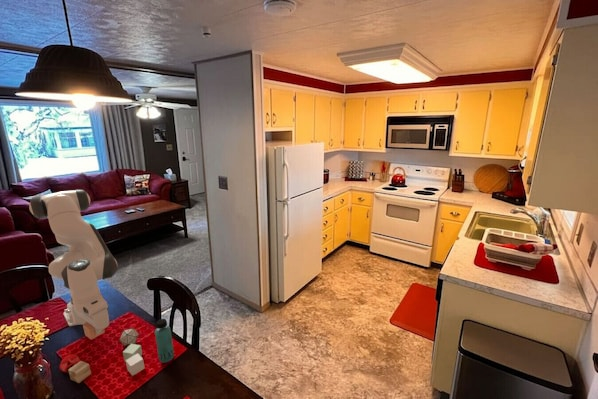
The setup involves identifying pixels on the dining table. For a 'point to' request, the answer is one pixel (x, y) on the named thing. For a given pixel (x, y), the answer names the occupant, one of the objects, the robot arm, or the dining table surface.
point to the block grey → (135, 364)
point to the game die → (129, 337)
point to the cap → (66, 360)
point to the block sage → (132, 351)
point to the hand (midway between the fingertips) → (94, 330)
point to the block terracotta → (90, 331)
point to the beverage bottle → (164, 341)
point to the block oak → (79, 371)
